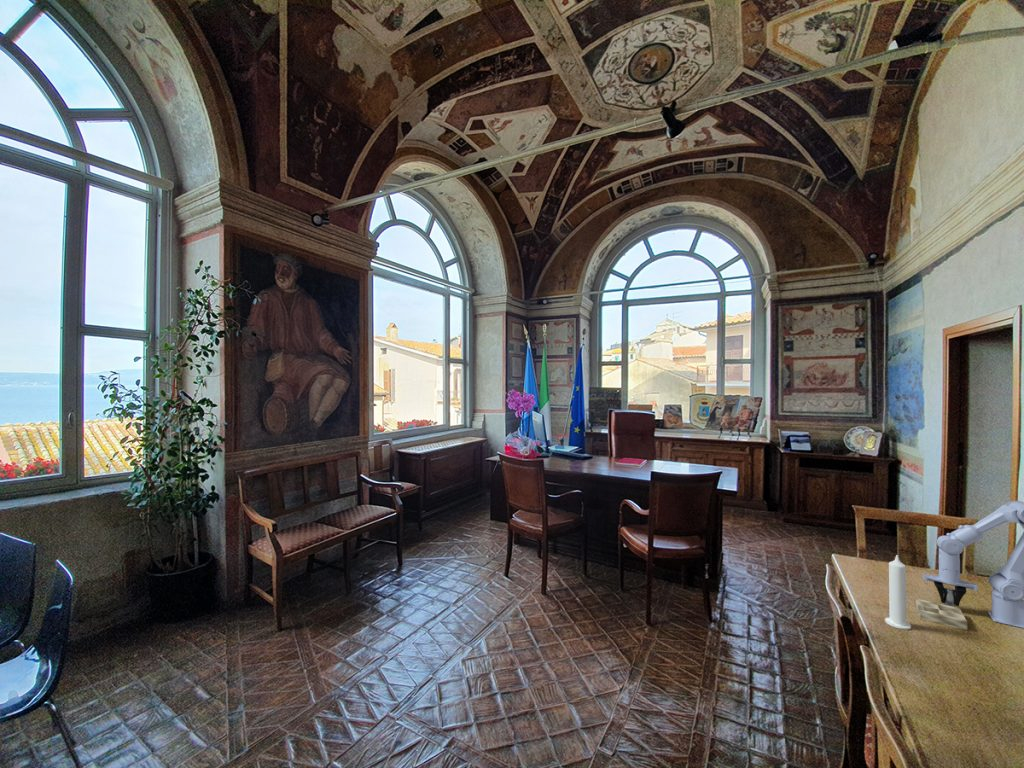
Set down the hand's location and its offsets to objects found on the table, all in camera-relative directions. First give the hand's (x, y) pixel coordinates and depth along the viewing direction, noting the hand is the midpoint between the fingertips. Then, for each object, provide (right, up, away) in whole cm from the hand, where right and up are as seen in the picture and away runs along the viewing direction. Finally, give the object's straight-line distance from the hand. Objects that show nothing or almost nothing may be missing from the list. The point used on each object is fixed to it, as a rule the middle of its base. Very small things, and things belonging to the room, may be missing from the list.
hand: (949, 603), depth 163 cm
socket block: (-9, -2, -5) cm, 11 cm away
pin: (0, -2, 0) cm, 2 cm away
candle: (-29, -2, -10) cm, 31 cm away
